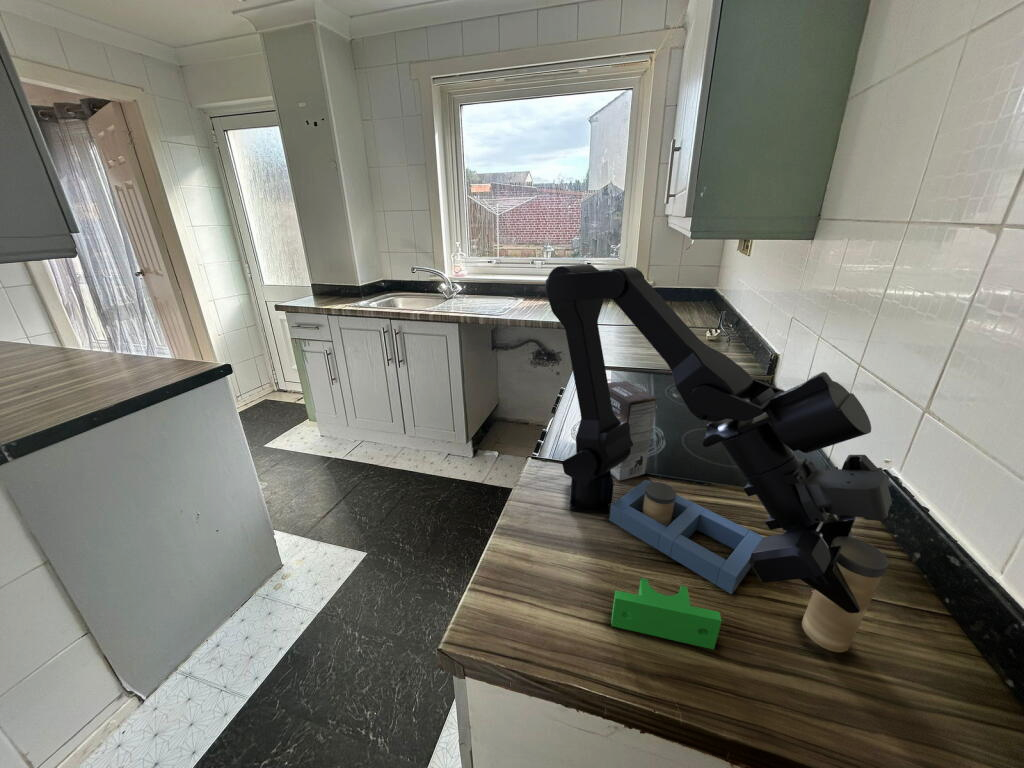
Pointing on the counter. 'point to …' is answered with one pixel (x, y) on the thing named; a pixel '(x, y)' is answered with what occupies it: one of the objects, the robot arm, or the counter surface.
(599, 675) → the counter surface
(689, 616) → the pipe clamp
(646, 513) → the short wooden cylinder
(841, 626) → the wooden peg
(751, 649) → the counter surface
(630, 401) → the coffee box
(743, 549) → the socket block
